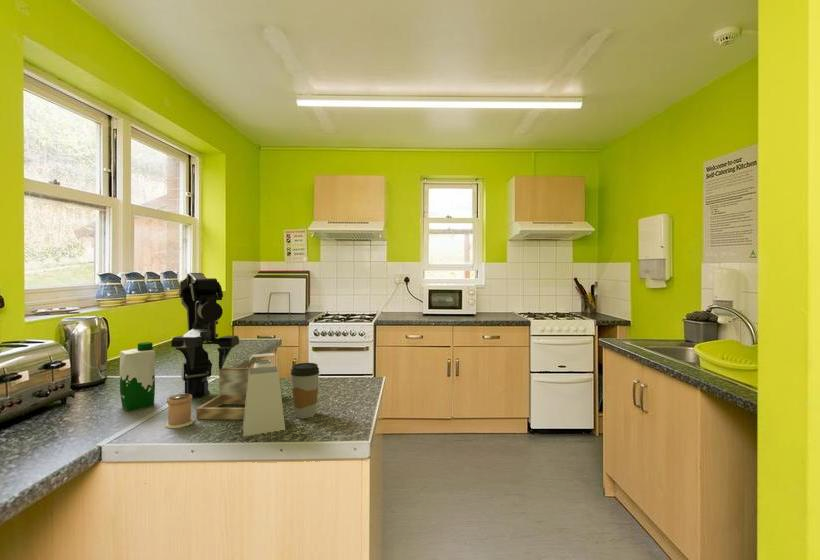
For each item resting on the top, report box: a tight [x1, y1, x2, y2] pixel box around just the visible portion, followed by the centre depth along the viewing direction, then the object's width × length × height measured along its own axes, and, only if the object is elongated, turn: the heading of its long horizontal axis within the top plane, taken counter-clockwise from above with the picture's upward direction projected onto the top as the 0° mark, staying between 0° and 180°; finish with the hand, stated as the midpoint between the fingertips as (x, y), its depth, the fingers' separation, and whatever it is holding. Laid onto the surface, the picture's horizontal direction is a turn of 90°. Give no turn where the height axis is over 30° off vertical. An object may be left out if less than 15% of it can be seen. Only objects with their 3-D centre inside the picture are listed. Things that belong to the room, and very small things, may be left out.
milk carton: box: [119, 341, 156, 412], centre depth 126 cm, size 9×9×20 cm
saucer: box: [164, 417, 195, 429], centre depth 112 cm, size 7×7×1 cm
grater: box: [242, 352, 286, 437], centre depth 110 cm, size 10×10×20 cm
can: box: [253, 359, 274, 368], centre depth 137 cm, size 6×6×12 cm
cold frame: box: [196, 367, 251, 420], centre depth 122 cm, size 16×14×12 cm
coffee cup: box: [290, 362, 320, 420], centre depth 118 cm, size 8×8×15 cm
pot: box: [166, 393, 193, 425], centre depth 112 cm, size 6×6×7 cm
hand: (205, 368), depth 122 cm, fingers open, 9 cm apart
